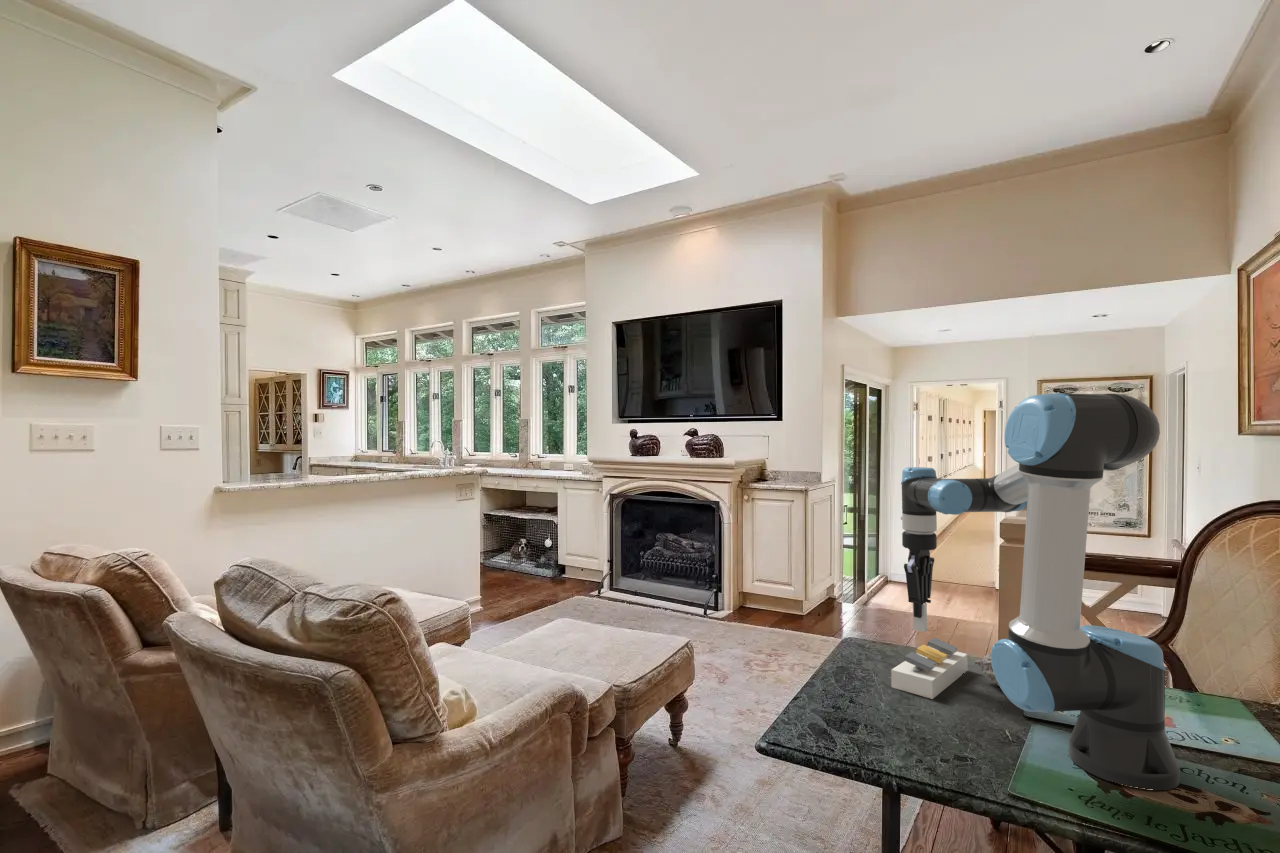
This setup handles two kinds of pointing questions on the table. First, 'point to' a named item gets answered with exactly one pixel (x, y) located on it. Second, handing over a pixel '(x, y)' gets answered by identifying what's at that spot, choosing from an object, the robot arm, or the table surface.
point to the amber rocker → (931, 653)
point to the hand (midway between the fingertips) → (919, 629)
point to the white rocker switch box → (929, 675)
